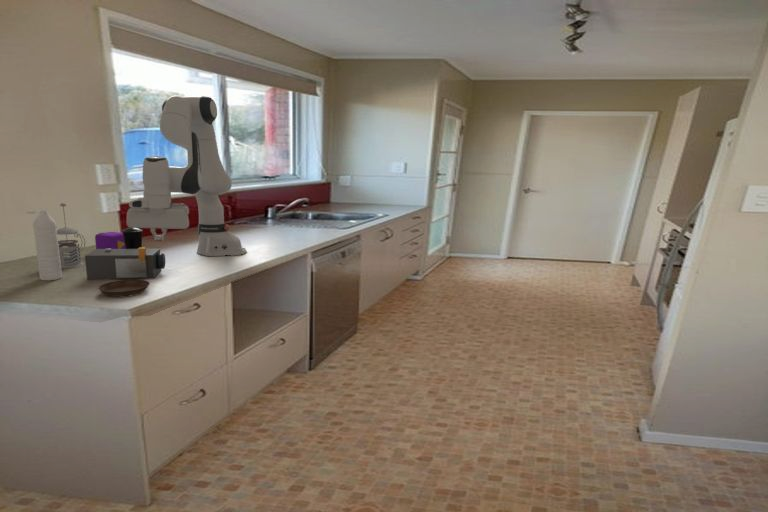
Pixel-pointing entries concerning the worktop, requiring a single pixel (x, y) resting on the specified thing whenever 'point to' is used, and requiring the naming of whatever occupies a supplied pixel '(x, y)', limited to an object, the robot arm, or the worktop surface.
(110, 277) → the camera housing
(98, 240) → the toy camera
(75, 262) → the french press
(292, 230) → the worktop surface
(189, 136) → the robot arm
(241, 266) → the worktop surface
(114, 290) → the saucer
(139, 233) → the drinking cup
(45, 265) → the water bottle
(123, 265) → the side door
